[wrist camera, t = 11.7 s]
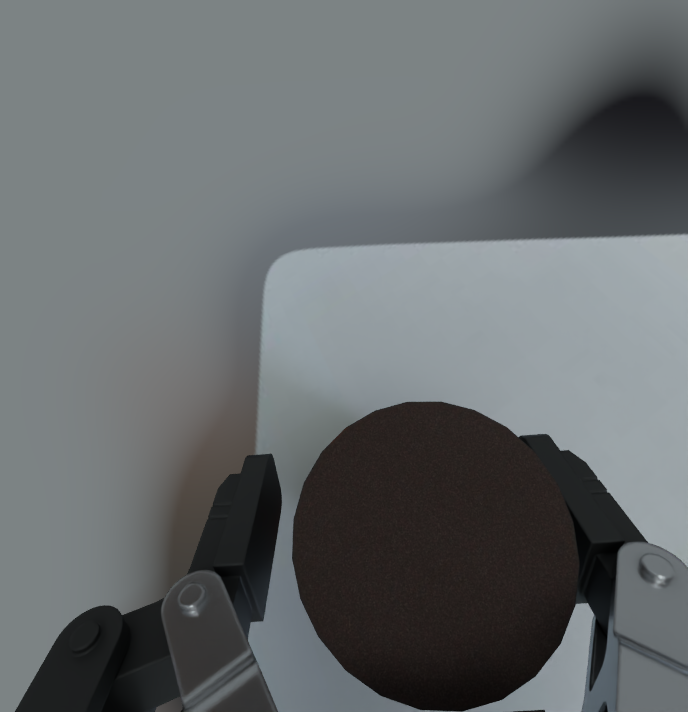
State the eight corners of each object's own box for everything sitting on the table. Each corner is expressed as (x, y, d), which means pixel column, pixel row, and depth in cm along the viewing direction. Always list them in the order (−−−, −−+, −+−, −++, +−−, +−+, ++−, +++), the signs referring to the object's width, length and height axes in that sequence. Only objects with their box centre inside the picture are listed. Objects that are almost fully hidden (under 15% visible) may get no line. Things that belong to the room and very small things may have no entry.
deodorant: (346, 438, 24) (314, 386, 9) (445, 451, 23) (575, 418, 9) (332, 544, 22) (268, 680, 8) (439, 561, 21) (584, 741, 7)
